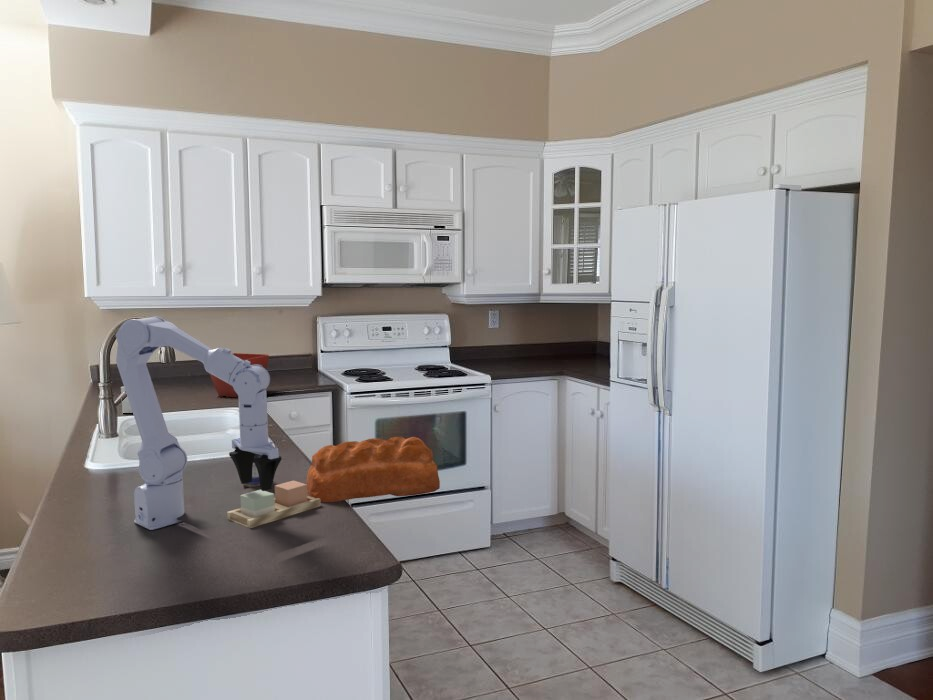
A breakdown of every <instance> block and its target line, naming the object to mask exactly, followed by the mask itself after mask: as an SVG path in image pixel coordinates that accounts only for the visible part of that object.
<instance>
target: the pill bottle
mask: <svg viewBox="0 0 933 700" xmlns="http://www.w3.org/2000/svg"><path fill="white" fill-rule="evenodd" d="M261 457H262V455H259V454H255V456H254V459H256V458H261ZM242 486H243V488H244V489H247V490H248V489H251V488H254V487H258V486H260V481H259V474H258V471H257V468H256V465H255V463H254V462H253V467H252V480H251V482H249V483H245V484H242Z"/></svg>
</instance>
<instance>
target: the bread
mask: <svg viewBox="0 0 933 700" xmlns="http://www.w3.org/2000/svg"><path fill="white" fill-rule="evenodd" d="M433 458H434V454H433V450H432V449H430V448H429V447H427V445H426V443H425V442H424V441H423V440H422V439H421V438H419V437H417V436H411V437H408V438H405V437H403V436H394V437H390V438H388V440H386V439H384V438H375V437H374V438H368V439H364V440H361V441H356V440H355V441H344V442H341V443H339V444H336V445H333V444H329V445H324V446H323V447H322V448H320V449H318V450H317V452H315V453H314V454H313V455H312V457H311V465H310V467H309V468H308V470H307V476H306V482H305V483H306V484H307V496H310V497H313V498H319V499H321V502H322V503H334V502H342V501H348V500H355V499H365V498H374V497H381V496H382V497H383V496H387V495H388V496H389V495H391V496H394V497H408V496H409V497H410V496H411V497H412V496H417V495H424V494H429V493H434V492H436V491H437V490H439V489H440V488H441V487H440V486H441V481H440V477H439V471H438V465H437V464H436V462H435V460H433Z"/></svg>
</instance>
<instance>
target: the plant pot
mask: <svg viewBox="0 0 933 700" xmlns="http://www.w3.org/2000/svg"><path fill="white" fill-rule="evenodd" d="M231 354H233V355H235V356H236V357H238V358H240V359H242V360H244V361H245V360H248V361H250V362H251V363H250V365H261V366H262V367H263V368H265V369H266V370H267V371H268V363H269V358H270V357H269V354H263V353H262V354H261V353H244V352H243V353H240V352H238V353H237V352H231ZM209 376H210V378H211V379H210V380H211V382H212V384H213V386H214V388H215V391H216V393H217V395H218V396H219V397H223V396H226V397H225V398H238V394H237V393H236V392H235V390H234V388H233V386H232V385H230V384H228V383H226V382H225V381H223V380H221V379H219V378H217V377H216V376H214V375H212V374H210V373H209Z"/></svg>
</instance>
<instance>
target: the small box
mask: <svg viewBox="0 0 933 700" xmlns="http://www.w3.org/2000/svg"><path fill="white" fill-rule="evenodd" d="M124 391H125V388H124V386H120V392H121V393H120V394H122V392H124ZM121 407H122V408H121V410H122V414H123V413H132V409H131V406H130V403H129V400H128V397H126V398H125V399H124V400H123V401H122V400H121Z"/></svg>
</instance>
